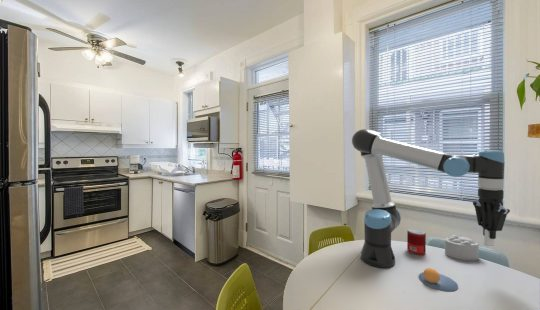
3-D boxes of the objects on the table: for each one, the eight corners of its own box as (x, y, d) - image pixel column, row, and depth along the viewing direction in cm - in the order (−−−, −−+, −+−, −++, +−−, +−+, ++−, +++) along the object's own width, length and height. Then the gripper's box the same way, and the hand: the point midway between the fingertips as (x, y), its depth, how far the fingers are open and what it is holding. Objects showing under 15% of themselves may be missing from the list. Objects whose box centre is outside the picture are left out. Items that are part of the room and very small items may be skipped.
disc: (411, 273, 100) (411, 272, 100) (440, 271, 101) (440, 271, 101) (434, 292, 87) (434, 291, 87) (467, 290, 88) (467, 289, 88)
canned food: (428, 255, 115) (428, 234, 114) (410, 254, 116) (410, 233, 116) (421, 248, 122) (421, 228, 122) (405, 247, 124) (405, 227, 123)
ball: (429, 263, 96) (434, 274, 96) (417, 269, 96) (423, 280, 96) (439, 270, 90) (445, 282, 91) (428, 277, 90) (433, 288, 90)
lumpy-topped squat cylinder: (482, 259, 110) (482, 242, 109) (454, 260, 110) (455, 242, 109) (463, 249, 120) (464, 233, 120) (439, 250, 120) (439, 234, 120)
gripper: (517, 191, 87) (515, 252, 88) (483, 185, 100) (482, 238, 101) (498, 192, 87) (497, 253, 88) (467, 185, 100) (466, 239, 101)
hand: (489, 245), depth 94 cm, fingers closed
